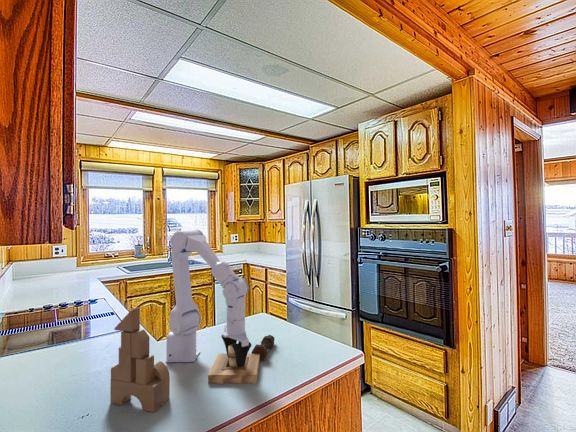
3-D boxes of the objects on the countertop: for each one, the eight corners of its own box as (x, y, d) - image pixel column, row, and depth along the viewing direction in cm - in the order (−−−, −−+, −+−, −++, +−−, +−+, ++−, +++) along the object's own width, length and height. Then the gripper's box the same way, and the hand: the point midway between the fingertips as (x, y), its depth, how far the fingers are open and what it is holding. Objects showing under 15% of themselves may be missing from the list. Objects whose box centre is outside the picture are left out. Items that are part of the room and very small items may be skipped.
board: (208, 383, 91) (208, 374, 91) (218, 361, 105) (218, 353, 105) (255, 383, 91) (255, 374, 91) (259, 361, 105) (259, 353, 105)
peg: (232, 377, 94) (232, 350, 94) (225, 371, 98) (225, 345, 98) (245, 372, 97) (245, 347, 97) (238, 367, 101) (238, 342, 101)
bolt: (272, 348, 119) (261, 365, 105) (261, 341, 120) (248, 356, 106) (280, 336, 119) (269, 351, 104) (269, 328, 120) (257, 342, 105)
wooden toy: (171, 397, 84) (171, 305, 84) (153, 412, 77) (154, 312, 77) (124, 388, 88) (125, 300, 88) (104, 402, 82) (105, 307, 82)
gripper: (215, 314, 102) (215, 355, 102) (233, 327, 90) (232, 374, 90) (235, 310, 106) (235, 350, 106) (254, 322, 93) (254, 368, 93)
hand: (235, 361), depth 98 cm, fingers open, 7 cm apart
